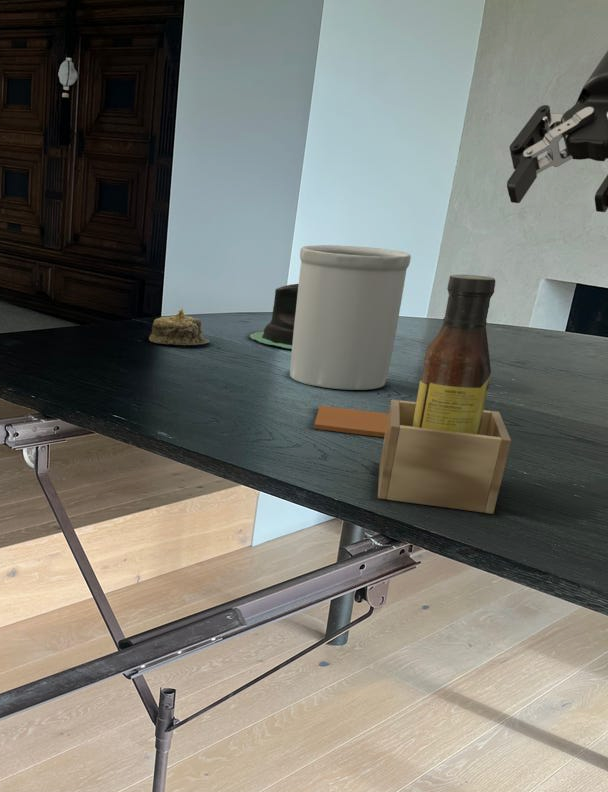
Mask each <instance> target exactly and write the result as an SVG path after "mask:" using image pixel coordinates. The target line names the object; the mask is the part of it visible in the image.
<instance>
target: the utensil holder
mask: <svg viewBox="0 0 608 792" xmlns="http://www.w3.org/2000/svg"><path fill="white" fill-rule="evenodd" d="M411 258H412V257H411V254H410V253H408V252H405V251H399V250H394V249H388V248H379V247H370V246H355V245H335V244H314V245H304V246H301V248H300V251H299V259H300V268H299V277H298V284H299V285H298V295H297V305H296V314H295V323H294V333H293V344H292V349H291V356H290V368H289V369H290V371H289V376H290V378H291V379H292V380H294V381H297V382H299V383H301V384H305V385H309V386H312V387H313V386H314V387H319V388H324V389H325V388H326V389H332V390H333V389H334V390H344V391H367V390H375V389H380V388H383V387H384V386H385V385H386V384H387V379H388V375H389V374H388V373H389V370H390V364H391V361H392V355H393V350H394V346H395V345H394V344H395V341H396V335H397V329H398V324H399V317H400V311H401V305H402V299H403V295H404V294H403V293H404V288H405V280H406V275H407V269H408V268H409V266H410V263H411Z"/></svg>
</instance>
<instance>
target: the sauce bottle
mask: <svg viewBox="0 0 608 792" xmlns="http://www.w3.org/2000/svg"><path fill="white" fill-rule="evenodd" d="M495 287H496V278H494V277H491V276H486V275H485V276H484V275H477V274H451V275H449V278H448V284H447V288H446V289H447V293H448V297H447V303H446V309H445V314H444V317H443V318H442V320H443V322H442V325H441V328H440V330H439V331H438V333H437V335H436V336H435V338H434V339H433V340H432V341H431V342H430V343H429V345H428V346H427V348H426V352H425V355H424V359H423V361H424V362H423V368H422V372H421V378H420V379H419V384H418V390H417V396H416V401H415V402H416V408H415V414H414V420H413V426H412V427H420V428H428V429H436V430H444V431H453V432H461V433H469V434H477V435H479V431H480V427H481V421H482V416H483V411H484V410H485V406H486V399H487V393H488V390H489V385H490V379H491V374H492V373H491V372H492V368H491V359H490V350H489V341H488V334H487V319H488V314H489V309H490V305H491V303H490V302H491V298H492V297H493V295H494V293H495Z"/></svg>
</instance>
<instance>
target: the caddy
mask: <svg viewBox="0 0 608 792" xmlns="http://www.w3.org/2000/svg"><path fill="white" fill-rule="evenodd" d="M416 402H417V401H409V400H402V399H400V400H399V399H393V398H392V399H391V400H390V405H389V411H388V414H389V415H388V421H387V426H386V431H385V437H383V443H382V447H381V454H380V460H379V464H378V485H377V487H378V488H377V499H379V500H386V501H387V500H388V501H392V502H393V501H394V502H400V503H401V502H402V503H409V504H416V505H424V506H430V507H438V508H444V509H445V508H446V509H454V510H459V511H461V510H462V511H468V512H474V513H483V514H490V515H493V514H494V513H495V509H496V506H497V501H498V497H499V492H500V488H501V485H502V481H503V476H504V473H505V468H506V464H507V459H508V456H509V453H510V447H511V444H512V439H511V436H510V434H509V432H508V430H507V427H506V424H505V423H504V421H503V418H502V415H501V412H500V411H495V410H486V409H484V411H483V416H482V421H481V427H480V431H479V435H477V434H469V433H461V432H453V431H444V430H436V429H428V428H420V427H412V426H413V420H414V414H415V408H416Z"/></svg>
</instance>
